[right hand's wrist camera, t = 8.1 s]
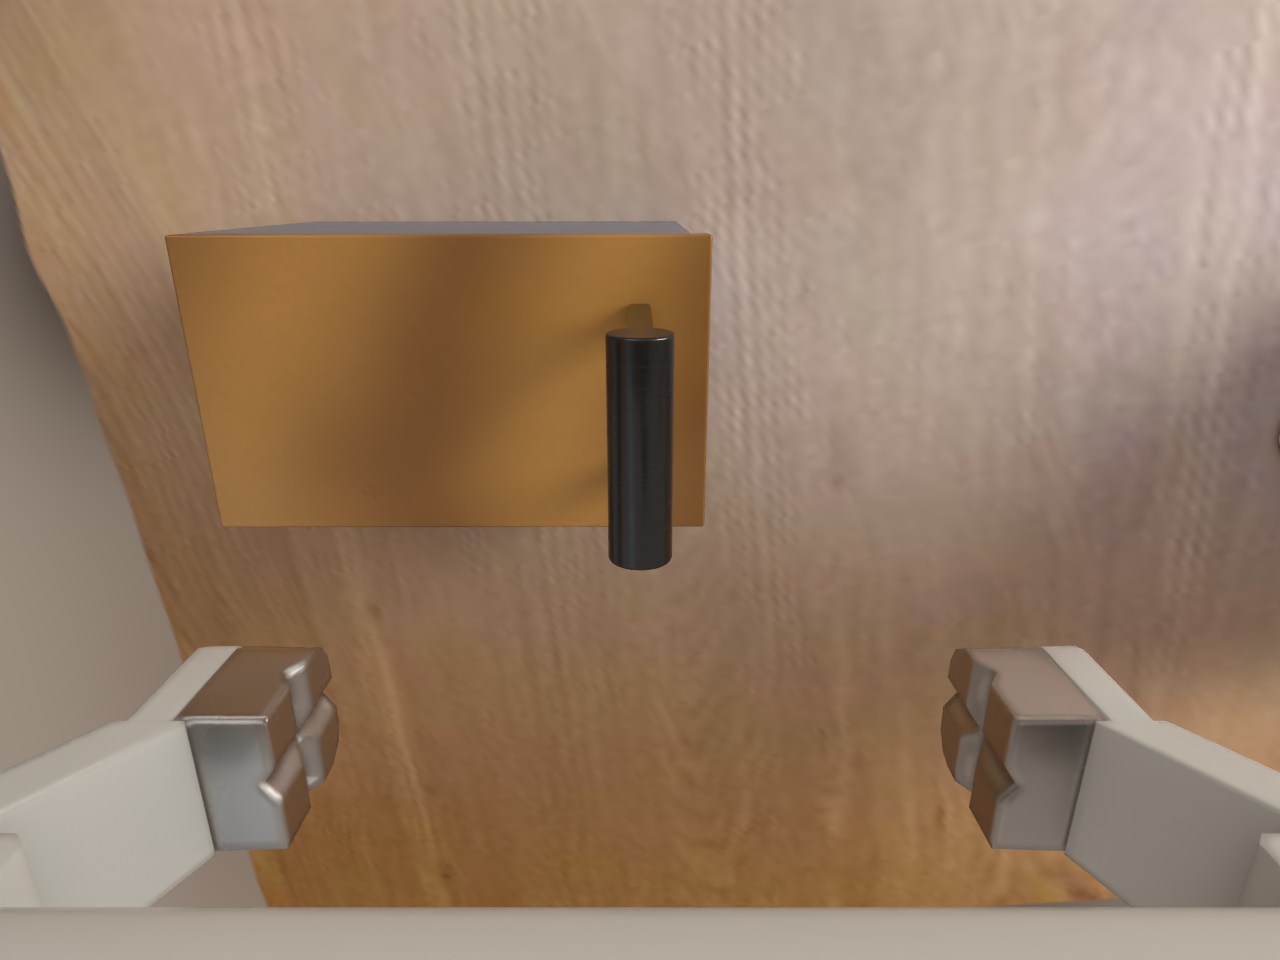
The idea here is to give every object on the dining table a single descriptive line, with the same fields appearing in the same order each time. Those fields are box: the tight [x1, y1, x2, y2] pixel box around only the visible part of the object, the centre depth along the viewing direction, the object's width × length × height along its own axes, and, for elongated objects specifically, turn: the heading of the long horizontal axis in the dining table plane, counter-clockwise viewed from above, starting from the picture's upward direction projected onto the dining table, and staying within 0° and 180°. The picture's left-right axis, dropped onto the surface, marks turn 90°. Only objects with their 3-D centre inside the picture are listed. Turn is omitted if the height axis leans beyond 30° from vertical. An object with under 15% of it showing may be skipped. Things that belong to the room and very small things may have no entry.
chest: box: [187, 222, 690, 234], centre depth 32 cm, size 16×10×11 cm, turn 90°
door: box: [165, 233, 712, 570], centre depth 23 cm, size 17×10×8 cm, turn 90°
